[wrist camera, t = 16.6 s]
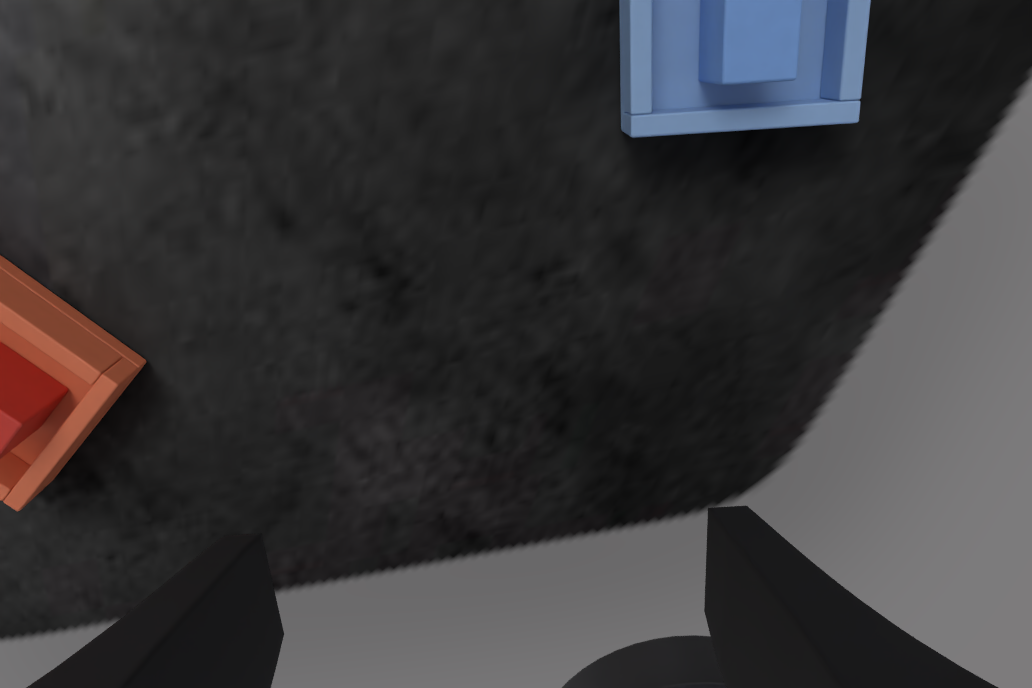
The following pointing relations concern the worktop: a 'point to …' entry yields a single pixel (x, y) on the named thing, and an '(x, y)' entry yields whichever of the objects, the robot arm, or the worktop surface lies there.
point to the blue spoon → (749, 41)
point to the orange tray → (57, 378)
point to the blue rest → (721, 108)
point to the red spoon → (24, 398)
